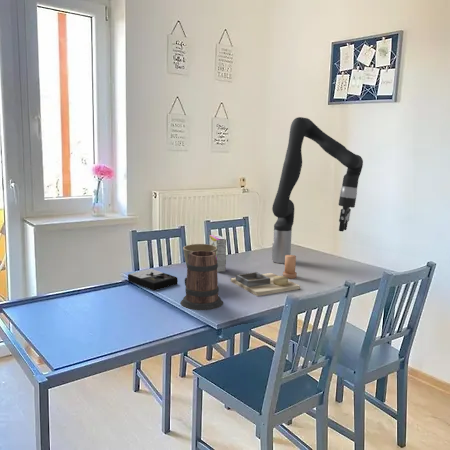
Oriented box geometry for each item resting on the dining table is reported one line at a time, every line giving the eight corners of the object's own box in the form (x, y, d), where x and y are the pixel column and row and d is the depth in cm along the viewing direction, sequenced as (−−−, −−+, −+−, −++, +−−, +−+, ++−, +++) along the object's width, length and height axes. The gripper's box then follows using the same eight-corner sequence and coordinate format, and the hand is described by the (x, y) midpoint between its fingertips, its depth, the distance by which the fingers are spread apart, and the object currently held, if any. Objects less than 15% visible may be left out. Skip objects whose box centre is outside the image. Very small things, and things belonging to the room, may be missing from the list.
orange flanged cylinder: (280, 275, 221) (280, 255, 219) (291, 274, 224) (291, 254, 222) (288, 279, 216) (289, 258, 214) (299, 277, 219) (300, 257, 217)
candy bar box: (208, 266, 235) (208, 234, 232) (217, 265, 237) (218, 234, 234) (216, 272, 225) (216, 239, 222) (226, 271, 226) (226, 238, 223)
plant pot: (179, 279, 213) (179, 245, 210) (210, 276, 218) (210, 243, 215) (188, 288, 199) (188, 252, 196) (221, 285, 204) (221, 250, 202)
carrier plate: (230, 281, 211) (230, 273, 210) (271, 275, 221) (271, 267, 220) (256, 296, 192) (257, 286, 191) (299, 288, 202) (300, 279, 201)
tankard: (231, 306, 179) (232, 255, 175) (190, 313, 171) (190, 260, 168) (205, 289, 199) (205, 243, 196) (168, 294, 192) (167, 246, 188)
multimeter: (154, 291, 196) (154, 280, 195) (127, 281, 209) (127, 271, 208) (178, 285, 205) (178, 274, 204) (150, 276, 218) (150, 265, 217)
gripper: (342, 195, 228) (337, 228, 230) (337, 195, 215) (331, 230, 217) (358, 197, 225) (352, 230, 227) (354, 198, 212) (348, 233, 214)
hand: (342, 230), depth 222 cm, fingers open, 8 cm apart
